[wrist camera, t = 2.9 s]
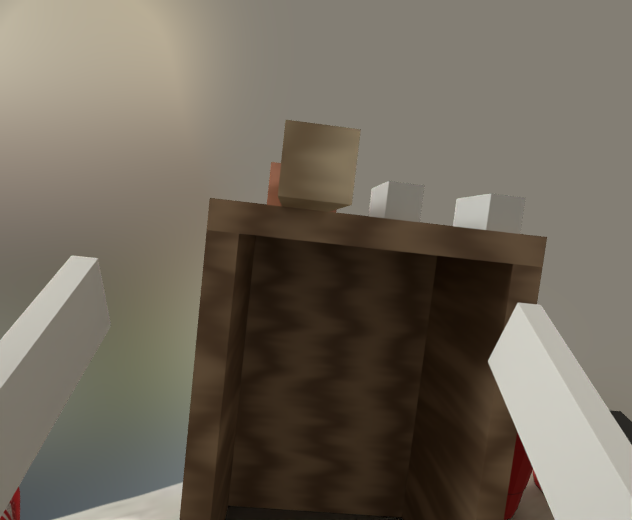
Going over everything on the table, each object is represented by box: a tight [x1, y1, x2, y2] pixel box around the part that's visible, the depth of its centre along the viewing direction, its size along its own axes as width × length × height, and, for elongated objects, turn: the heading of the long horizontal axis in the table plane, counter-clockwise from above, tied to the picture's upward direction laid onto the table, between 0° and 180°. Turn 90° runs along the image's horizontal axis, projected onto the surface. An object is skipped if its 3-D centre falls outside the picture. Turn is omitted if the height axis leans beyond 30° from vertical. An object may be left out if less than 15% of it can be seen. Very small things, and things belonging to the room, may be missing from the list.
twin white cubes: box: [368, 181, 525, 234], centre depth 32 cm, size 9×6×2 cm, turn 94°
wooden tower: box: [180, 198, 547, 520], centre depth 37 cm, size 22×16×30 cm
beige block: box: [267, 120, 360, 213], centre depth 30 cm, size 6×25×4 cm, turn 4°
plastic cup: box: [504, 432, 533, 520], centre depth 49 cm, size 11×11×12 cm
